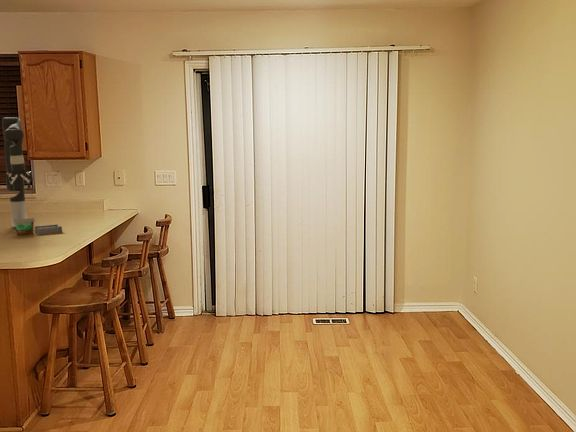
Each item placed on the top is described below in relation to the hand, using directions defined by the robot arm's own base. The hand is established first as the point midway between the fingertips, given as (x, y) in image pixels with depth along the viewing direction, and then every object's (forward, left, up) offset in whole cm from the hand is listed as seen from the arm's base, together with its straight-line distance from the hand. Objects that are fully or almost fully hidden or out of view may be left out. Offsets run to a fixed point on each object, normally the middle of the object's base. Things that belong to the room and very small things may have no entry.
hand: (21, 189), depth 360 cm
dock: (-6, +14, -29) cm, 33 cm away
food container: (-6, 0, -29) cm, 30 cm away
